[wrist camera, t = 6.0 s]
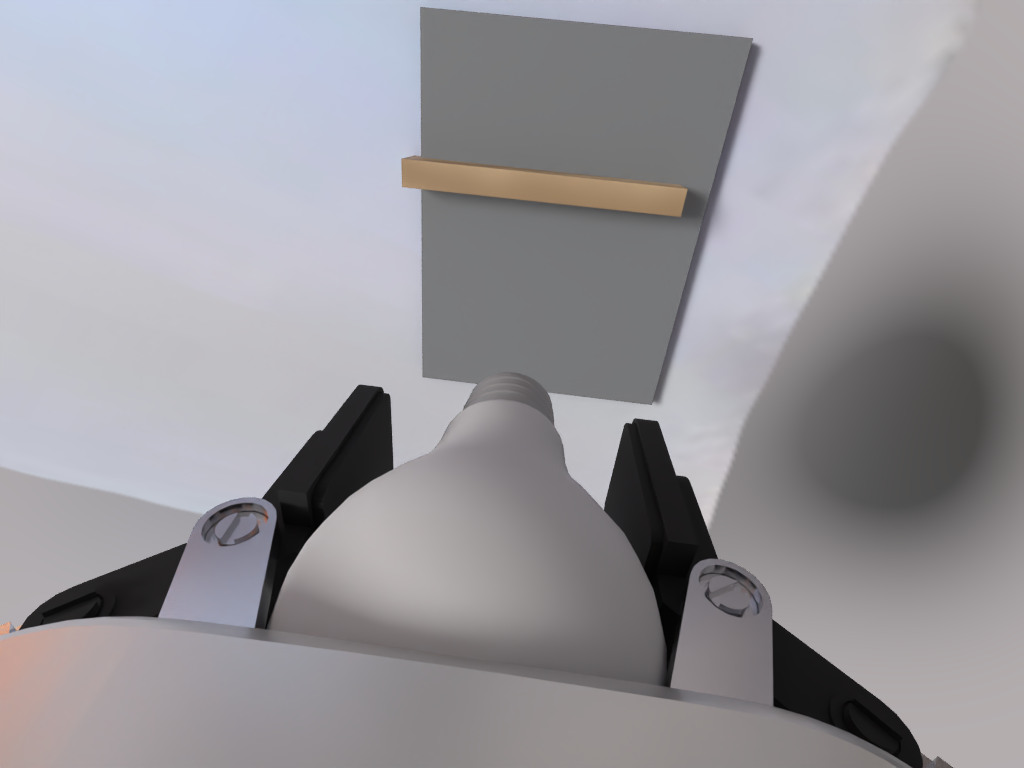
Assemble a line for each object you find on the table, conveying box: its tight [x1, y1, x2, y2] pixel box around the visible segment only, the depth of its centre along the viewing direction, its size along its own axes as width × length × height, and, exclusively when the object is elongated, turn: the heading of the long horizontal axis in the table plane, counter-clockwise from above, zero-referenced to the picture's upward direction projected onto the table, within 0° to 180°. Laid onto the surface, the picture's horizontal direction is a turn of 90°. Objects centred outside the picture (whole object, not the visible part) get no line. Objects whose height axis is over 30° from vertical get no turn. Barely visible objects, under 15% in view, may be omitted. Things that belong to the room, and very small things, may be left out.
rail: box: [402, 156, 688, 217], centre depth 23 cm, size 1×13×2 cm, turn 85°
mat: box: [420, 7, 753, 405], centre depth 24 cm, size 18×14×1 cm
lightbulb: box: [266, 372, 667, 687], centre depth 10 cm, size 6×6×11 cm
